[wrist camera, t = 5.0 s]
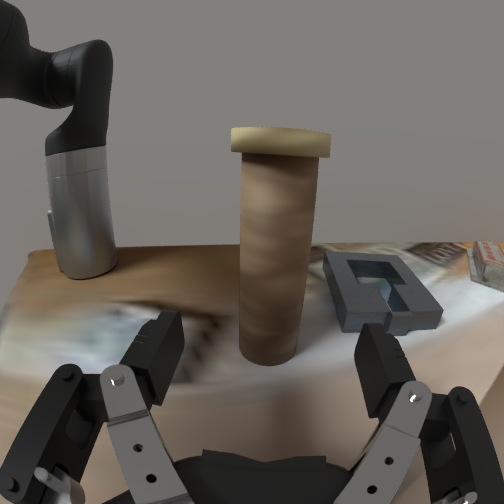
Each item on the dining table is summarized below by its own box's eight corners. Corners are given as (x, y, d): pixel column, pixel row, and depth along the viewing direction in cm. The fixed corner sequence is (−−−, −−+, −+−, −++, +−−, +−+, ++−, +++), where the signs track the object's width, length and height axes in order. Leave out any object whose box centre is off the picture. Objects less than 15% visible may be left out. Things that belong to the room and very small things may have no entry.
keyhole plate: (393, 270, 37) (397, 255, 36) (438, 332, 23) (446, 313, 22) (322, 267, 38) (324, 251, 37) (343, 337, 24) (349, 316, 23)
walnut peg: (226, 368, 20) (222, 126, 14) (236, 321, 26) (238, 130, 19) (305, 373, 20) (341, 133, 13) (301, 325, 26) (322, 135, 19)
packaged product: (522, 273, 26) (477, 256, 32) (513, 299, 28) (469, 283, 34) (505, 244, 39) (470, 232, 45) (500, 264, 41) (465, 252, 46)
